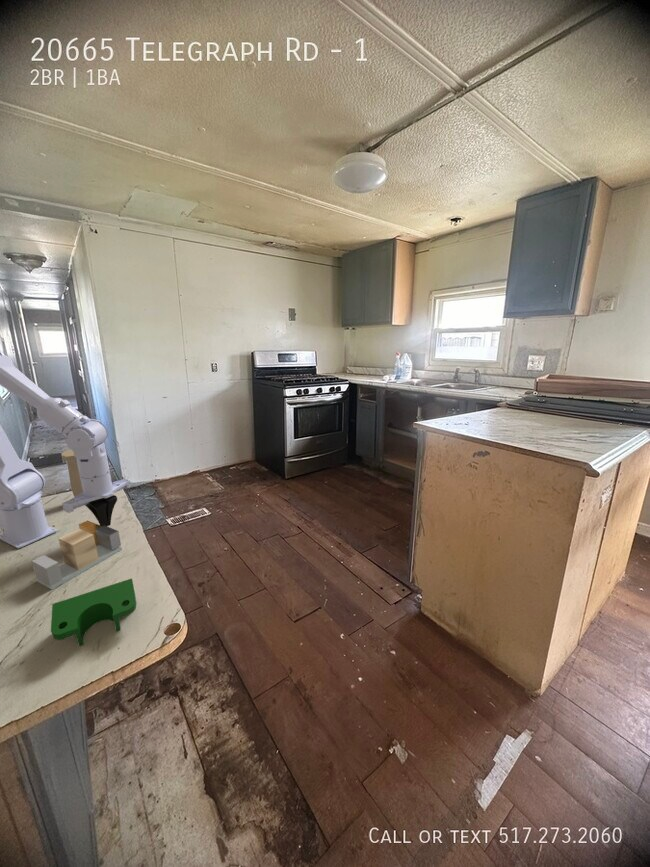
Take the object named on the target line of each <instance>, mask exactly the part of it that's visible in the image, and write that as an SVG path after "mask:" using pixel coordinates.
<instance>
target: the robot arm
mask: <svg viewBox="0 0 650 867" xmlns="http://www.w3.org/2000/svg"><path fill="white" fill-rule="evenodd" d="M0 386H1V387H3V388H4V389H6V390H7V391H9V392H10V393H12V394H14V395H15V396H17V397H18V398H20V399H21V400H22V401H24V402H25V403H28V404H29V405H30V406H32V407H33V408H35V409H36V415H37V417H38V418H39V419H40V420H42V421H43V422H44V423H46V424H47V425H48V426H50V427H52V428H53V429H54V430H55V431H57V432H58V433H59V434H61V435H62V436H63V437H65V439H64V442H65V444H66V446H67V447H68V448H69V450H72V451H73V452H74V457H76V460H77V464H78V469H79V474H80V478H81V483H82V488H83V492H82V493H81V494H79V495H77V496H75V497H74V496H73V497H72V498H70V499H68V500H67V501H64V502H61V503H62V504H61V505H62V510H63V511H64V512H65V513H69V514H70V513H72V512H74V511H75V510H77V509H79V508H81V507H84V506H85V507H86V508H87V509H88V510H89V511H90V512H91V513H92V514H93V516H94V517H95V519H96V521H97V522H98V525H100V526H104V525H105V526H107V527H109V526H111V522H112V517H113V516H112V515H113V512H114V508H115V505H116V504H117V502H118V497H117V495H114V494H116V493H117V492H119V491H122V490H124V489H130V488H131V487H132V485H131V484H132V483H131V479H128V478H122V479H120V480H116V481H113V482H112V478H111V476H112V475H111V471H110V466H109V461H108V455H107V449H106V444H105V441H106V440H107V439H108V437H109V431H108V428H107V426H106V425H105V424H104V423H103V422H102V421H101V420H99V419H95V418H90V417H88V416H87V415H83V414H82V413H81V412H80V411H78V410H77V409H76V408H74V407H73V406H72V405H71V402H70V401H69V400H67V399H63V398H61V397H52V396H49V394H47V393H46V392H45V391H44V390H43V389H42V388H40V387H39V386H38V385H37V384H36V383H35V382H33V381H32V380H31V379H30V378H29V377H27V376H26V374H24V373H23V372H22V371H20V370H19V369H18V368H17V367H16V366H15V364H14V362H13V360H12V358H11V357H10V356H7V355H6V354H4V353H3V352H2V351H1V350H0ZM45 486H46V478H45V476H44V475H43V474H42V473H41V472H40V471H38V470H37V469H36V467H34V464H33V463H32V462H30V461H28V460H27V461H26V460H23V459H20V458H19V456H18V454H17V452H16V450H15V449H14V447H13V445H12V443H11V441H10V439H9V438H8V435H7V434H6V432H5V430H4V429H3V426H2V424H0V530H1V532H2V534H0V540H1V541H2V542H5V543H6V544H8V545H9V546H12V547H14V548H16V549H20V548H23V547H26V546H27V545H31V544H32V543H34V542H37V541H38V540H42V539H43V538H46V537H47V536H49V535H52V534H54V533H56V532H58V528H54V527H52V526H50V525H48V521H47V517H46V512H45V509H44V505H43V501H42V498H41V496H43V492H42V490H44V488H45Z"/></svg>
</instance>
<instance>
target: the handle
mask: <svg viewBox="0 0 650 867" xmlns="http://www.w3.org/2000/svg"><path fill="white" fill-rule="evenodd" d="M61 458H62V460H63V461H66V463H67V470H68V475H69V476H68V477H69V483H70V484H69V485H70V487H71V491H72V494H73V498H74V497H75V496H77V495H79V494H81V493H82V492H83V488H82V483H81V478H80V474H79V469H78V464H77V460H76V457H74V452H73V451H72V450H71V449H68V450H64V451H63V452H61Z"/></svg>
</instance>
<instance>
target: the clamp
mask: <svg viewBox="0 0 650 867" xmlns="http://www.w3.org/2000/svg"><path fill="white" fill-rule="evenodd" d="M134 586H135V585H134V581H133V578H128V579H125V580H123V581H120V582H116V583H113V584H109V585H107V586H104V587H101V588H97V589H95V590H91V591H89V592H86V593H83V594H79V595H76V596H73V597H71V598H67V599H64V600H61V601H58V602H54V603H52V606H51V607H52V608H51V621H50V623H51V624H50V633H51V634H52V637H53V639H54V640H57V641H63V640H65V639H68V638H71V637H74V636H75V637H76V641H77V642H78V643H77V644H78V646H79V647H82V646H85V644H84V637H85V634H86V633H87V632H88V630H89V629H90V628H91V627H93V626H94V625H95V624H97V623H99V622H103V621H111V622H113V623H114V627H115V631H116V632H117V633H118V632H120V631H121V622H120V619H123V618H124V617H127V616H129V615H131V614H133V613H134V612H135V611H136V608H137V600H136V599H137V598H136V592H135V589H134Z"/></svg>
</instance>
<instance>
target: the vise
mask: <svg viewBox="0 0 650 867" xmlns="http://www.w3.org/2000/svg"><path fill="white" fill-rule="evenodd" d="M96 549H97V554H98V558H99V559H98V560H96V561H95V562H93V563H91V564H89V565H87V566H86V567H84V568H82V569H80V570H77V569H75V568H73V567H71V566H69V565H67V564H65V563H64V562H63V563H62V564H61V565H59V562H58V561H56V560H54V559H52V558H50V557H48V556H46V555H44V554H43V555H41V556H39V557H37V558H35V559H33V560H31V563H32V567H33V571H34V574H35V577H36V580H37V582H38V583H39V584H41V585H43V586H44V587H46V588H47V589H49V590H54V589H56V588H57V587H59V586H61V585H63V584H64V583H66V582H68V581H69V580H72V579H73V578H75V577H77V576H78V575H80V574H82V573H83V572H85V571H87V570H88V569H91V568H92V567H94V566H96V565H97V564H99V563H101V562H102V561H104V560H106V559H108V558H110V557H111V556H113V555H116V553H117V554H118V553H119V552H120V551H121V550H122V549H123V548H122V545H121V546H119V547H117V548H115V549H114V550H111V549H109V548H106V547H104V546H102V545H98V546H96Z"/></svg>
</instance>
